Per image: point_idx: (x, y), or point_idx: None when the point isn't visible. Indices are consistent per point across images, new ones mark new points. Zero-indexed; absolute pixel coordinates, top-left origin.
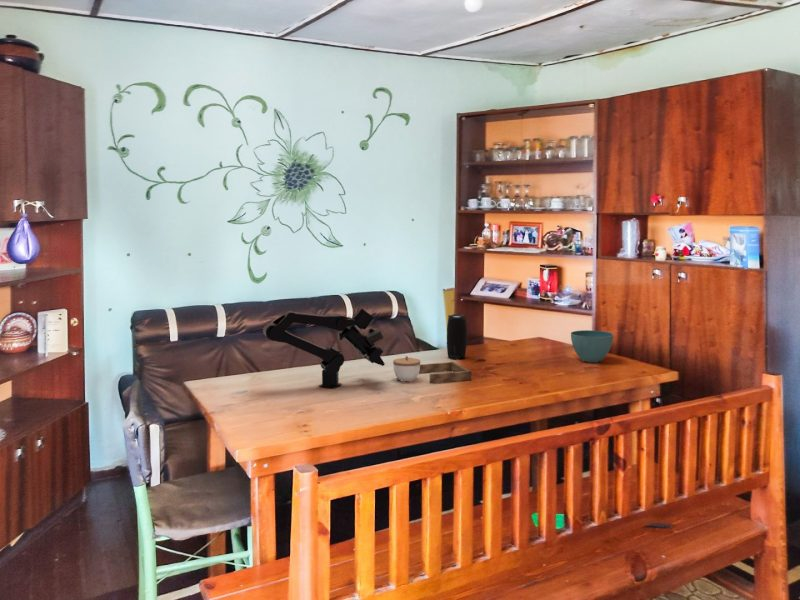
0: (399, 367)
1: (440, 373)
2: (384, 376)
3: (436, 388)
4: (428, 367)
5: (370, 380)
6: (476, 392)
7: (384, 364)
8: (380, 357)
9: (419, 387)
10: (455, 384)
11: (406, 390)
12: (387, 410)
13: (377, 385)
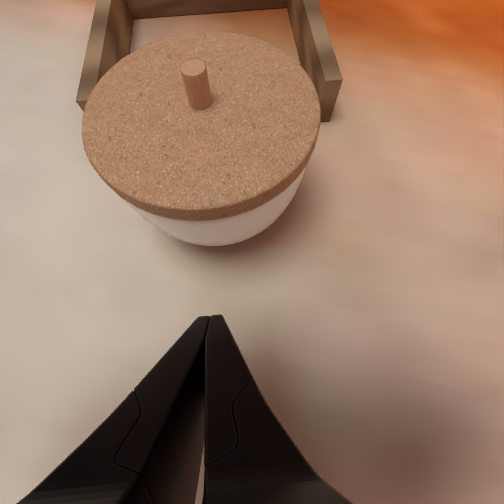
0: (281, 199)
1: (319, 40)
2: (97, 300)
3: (420, 119)
4: (111, 61)
5: None
6: (483, 23)
7: (221, 319)
8: (261, 395)
9: (397, 179)
10: (354, 50)
11: (463, 252)
12: None
13: (325, 407)
